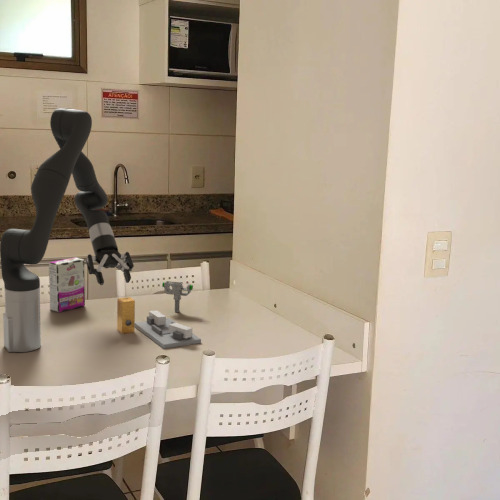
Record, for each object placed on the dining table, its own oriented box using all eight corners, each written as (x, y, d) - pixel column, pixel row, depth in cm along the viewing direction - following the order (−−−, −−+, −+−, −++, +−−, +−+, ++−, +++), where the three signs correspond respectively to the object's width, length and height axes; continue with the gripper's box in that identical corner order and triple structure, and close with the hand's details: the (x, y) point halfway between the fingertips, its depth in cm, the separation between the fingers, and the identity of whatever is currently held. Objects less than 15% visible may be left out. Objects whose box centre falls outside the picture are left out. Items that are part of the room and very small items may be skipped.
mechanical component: (190, 314, 226) (191, 285, 224) (161, 311, 228) (161, 282, 226) (192, 312, 229) (193, 283, 227) (163, 309, 231) (164, 280, 229)
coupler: (122, 334, 204) (122, 302, 202) (116, 329, 207) (117, 298, 205) (134, 332, 206) (135, 300, 204) (129, 327, 209) (129, 296, 207)
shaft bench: (163, 348, 193) (164, 333, 192) (134, 326, 211) (134, 312, 210) (200, 342, 199) (201, 328, 198) (169, 321, 217) (169, 308, 216)
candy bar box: (75, 303, 233) (75, 256, 229) (85, 306, 230) (85, 259, 226) (48, 309, 224) (48, 261, 220) (58, 313, 221) (57, 264, 218)
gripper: (84, 234, 212) (96, 278, 205) (127, 232, 219) (140, 274, 212) (78, 248, 217) (90, 291, 210) (120, 245, 225) (133, 286, 218)
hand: (115, 282), depth 211 cm, fingers open, 8 cm apart
